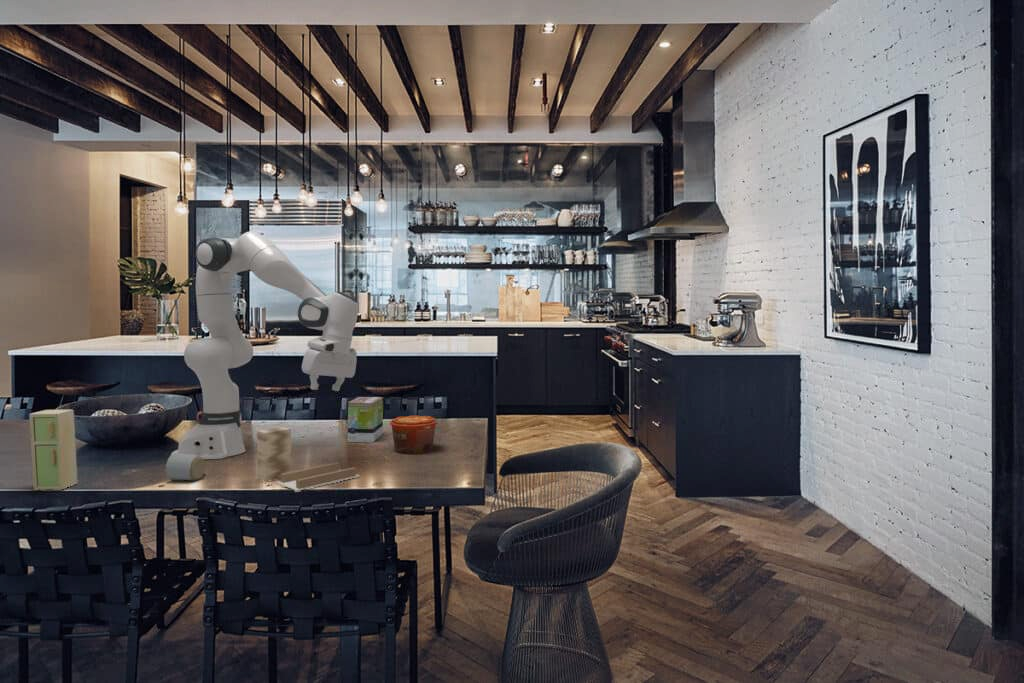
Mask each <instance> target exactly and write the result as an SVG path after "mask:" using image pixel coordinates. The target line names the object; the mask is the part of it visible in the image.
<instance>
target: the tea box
mask: <svg viewBox="0 0 1024 683" xmlns="http://www.w3.org/2000/svg"><path fill="white" fill-rule="evenodd" d="M383 415H384V400H383V396H382V397H381V396H357V397H355V398H354V399H352V400H350V401H348V402H347V442H348V443H374V442H375V441H376V440H377V439H379V438H380V437H381V436H382V435H383V431H384V430H383V429H384V427H383V424H384V422H383V420H384V416H383Z"/></svg>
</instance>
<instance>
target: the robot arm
mask: <svg viewBox="0 0 1024 683" xmlns="http://www.w3.org/2000/svg"><path fill="white" fill-rule="evenodd" d="M195 260H196V263H197V264H198V267H197V269H196V273H195V274H196V276H195V298H196V308H197V318H198V320H199V322H200V323H201V324H202V325H204V326H205V327H206V328H207V329H208V332H209V334H210V337H202V338H199V339H196V340H193V341H192V342H190V343H188V344H187V345H186V346H185V349H184V352H183V359H184V362H185V364H186V365H187V367H188V368H190V369H191V370H192V371H193V372H194V374H195V375H196V377H197V378H198V380H199V382H200V383H199V384H200V386H201V392H202V404H203V405H202V410H203V411H198V412H196V423H197V424H195V425H194V426H193V427H191V428H190V429H189V430H187V431H186V432H185V433H184V434H182V436H181V437H180V439H179V442H178V446H177V447H178V448H177V449H176V450H174V451H172V452H171V454H170V456H171V455H172V454H173V453H182V454H190V455H197V456H200V457H202V458H203V459H204V460H220V459H224V458H228V457H232V456H237V455H240V454H243V453H245V452H246V451H247V450H246V447H245V444H244V442H243V441H244V440H243V437H242V436H243V435H242V430H241V429H242V428H241V427H242V410H241V409H240V391H239V390H240V388H239V386H238V385H237V384H236V383H235V382H234V381H232V379H231V376H230V374H229V369H234V368H236V369H237V368H239V367H242V366H244V365H246V364H247V363H249V362H250V361H251V360H252V358H253V356H254V347H253V344H252V343H251V341H250V340H248V338H246V337H245V335H244V334H243V333H242V331H241V329H240V326H239V323H238V321H237V318H236V315H235V306H234V298H233V288H232V279H233V277H234V276H235V275H237V276H239V277H240V276H243V275H245V274H247V273H249V272H252V273H253V275H254V276H255V277H257V279H259V280H261V281H262V282H263V283H265V284H266V285H269V286H271V287H274V288H276V289H277V288H278V289H281V290H284V291H287V292H289V293H292V294H293V295H295V296H296V297H298V298H299V299H301V303H300V304H299V306H298V308H297V318H298V320H299V323H300V324H301V325H302V326H304V327H306V328H309V329H312V330H316V331H317V330H318V331H322V335H321V336H318V337H315V338H312V339H309V340H308V341H307V345H306V346H307V347H308V348H307V349H306V351H305V353H304V355H303V359H302V363H301V371H302V373H304V374H306V375H309V380H310V386H309V389H311V390H312V391H313V390H314V391H317V390H318V389H319V387H320V384H319V383H318V379H319V377H320V376H327V377H336V381H335V383H334V384H332V387H331V390H332V391H334V392H339V391H340V388H341V386H342V384H343V383H344V381H345V378H351V379H352V378H353V377H354V376H355V374H356V367H357V362H358V361H357V360H358V359H357V356H358V353H357V351H356V349H355V348H354V347H353V348H352V347H351V346H352V342H353V332H354V329H355V328H356V325H357V321H358V315H359V314H358V313H359V307H360V306H359V300H358V299H357V298H356V297H354V296H353V295H351V294H348V293H345V292H343V291H335V292H332V293H331V294H328V295H326V294H325V293H324V292H323V291H322V290H321V289H320V288H319V287H318V286H317V285H315V284H314V283H313V282H312V281H311V280H310V279H309V278H308V277H307V276H305V274H303V272H302V271H301V270H300V269H299V268H298V267H297V266H295V264H293V262H292V261H291V260H290V259H289V258H288V257H287V256H286V255H285V253H283V252H282V250H281V249H280V248H279V247H277V245H276V244H274V243H273V242H272V241H271V240H270V239H269V238H267V237H266V236H264V235H263V234H262V233H260V232H257V231H254V230H250V231H246V232H244V233H242V234H241V235H240V236H239V237H238V238H234V237H233V238H232V237H227V238H226V237H225V238H224V237H207V238H204V239H202V240H200V241H199V243H198V244H197V245H196V248H195Z"/></svg>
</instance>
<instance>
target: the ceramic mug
mask: <svg viewBox="0 0 1024 683" xmlns="http://www.w3.org/2000/svg"><path fill="white" fill-rule="evenodd" d="M171 454H172V453H171ZM171 454H170V455H169V457H168V458H167V461H166V464H165V475H166V478H167V479H168V480H170V481H184V480H189V481H188V482H191V481H190V480H195V481H198V480H200V479H202V477H203V474H204V475H205V474H206V471H207V469H206V461H205V459H203V458H202V457H200V456H197V455H190V454H182V453H173V454H172V455H171ZM197 479H198V480H197Z"/></svg>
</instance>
